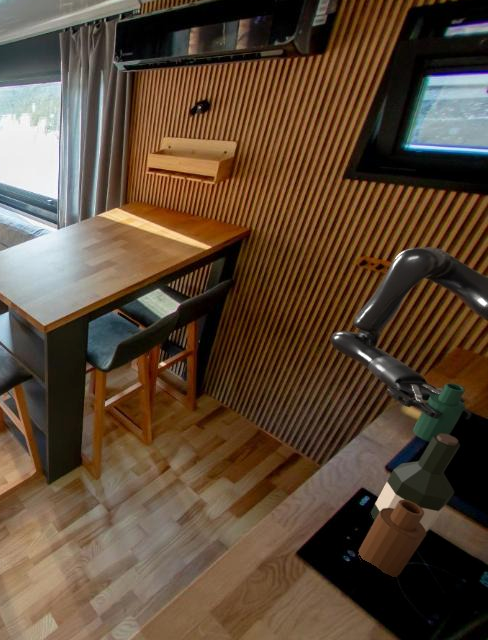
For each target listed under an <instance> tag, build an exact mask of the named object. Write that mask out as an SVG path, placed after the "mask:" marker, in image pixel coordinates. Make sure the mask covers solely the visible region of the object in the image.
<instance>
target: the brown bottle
mask: <svg viewBox="0 0 488 640" xmlns="http://www.w3.org/2000/svg"><path fill="white" fill-rule="evenodd" d="M423 516H424V511H423V509H422V508H421V507H420V506H418V505H417V504H415V503H413V502H411V501H409V500H399V502H398V503H397V505H396V507H395V509H393V508H383V509H382V510H381V511H380V512H379V514H378V516H377V518H376V519H375V521H373V523H372V525H371V527H370V528H369V530H368V532H367V534H366V536H365V537H364V539H363V541H362V543H361V545H360V547H359V549H358V552H359V554H358V556H359V555H360V556H361V558H362V559H363V560H365V561H367V562H369V563H371V564H372V565H374V566H376V567H377V568H378V569H380V570H381V571H382V572H383V573H385V574H388V575H390V576H392V577H396V578H398V577H399V576H400V575H401V573H402V571H403V570H404V569H405V568H406V565H408V563H409V561H410V559H411V558H412V557H413V555H414V553H416V551H417V549H418V548H419V546H420V545H421V543H422V541H423V540H424V539H425V537H426V536H427V534H426V531H425V528H424V527H423V526H422V524H421V523H420V520H421V519H422V517H423ZM398 575H399V576H398ZM397 576H398V577H397Z"/></svg>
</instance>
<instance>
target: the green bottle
mask: <svg viewBox="0 0 488 640" xmlns="http://www.w3.org/2000/svg"><path fill="white" fill-rule="evenodd" d="M443 387H444V388H443ZM443 387H442V388H443V390H442V392H441V394H432V395H431V396H430V397H429V399H428V401H427V400H426V403H427V404H429V405H430V406H431V407H433V408H434V409H435V410H437V411H438V412H439V413H440V415H439V417H438V418H437V419H433V418H431V417H430V416H428V415H426V414H425V413H424V412H422V411H421V413H420V415H419V417H418V418H417V420H416V422H415V424H414V427H413V428H412V432H413V434H414V435H415V436H416V437H418V438H420V439H421V440H423V441H425V442H428V443H430V441H431V439H432V438H433V436H435V435H436V434H440V433H443V434H448V435H450V434H451V433H452V431H453V430H454V428H455V426H456V424H457V423H458V421H459V419H460V418H461V417H460V416H461V414H462V412H463V410H464V409H466V404H465V402H464V403H462V402H461V401H460V398H461V397H462V398H463V395H464V393H465V392H466V389H465V388H464V387H463V386H462V385H459V384H456V383H451V382H447V383H445V384H444V386H443Z"/></svg>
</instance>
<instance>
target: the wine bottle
mask: <svg viewBox="0 0 488 640" xmlns="http://www.w3.org/2000/svg"><path fill="white" fill-rule="evenodd" d="M460 447H461V444H460V443H459V439H457V437H455V436H452V434H451V435H448V434H443V433H440V434H436V435H435V436H433V438H432V439H431V441H430V442H428V445H427V446H426V448H425V450H424V451H423V453H422V455H421V457H420V458H419V460H418V461H417V460H416V461H410V462H404V463H403V462H402V463H401V464H399V465H397V466H396V467H395V468H394V469H393V470H392V471H391V474H390V475H389V477H388V479H387V481H386V482H385V484H384V486H383V488H382V490H381V492H380V494H379V495H378V498H377V500H376V501H375V503H374V505H373V507H372V509H371V511H370V513H371V515H372V518H373V519H374V521H375V519H376V518H377V516H378V514H379V512H380V511H381V510H382V509H383V508H393V509H395V507H396V505H397V503H398V502H399V500H409V501H411V502H413V503H415V504H417V505H418V506H420V507H421V508H422V509H423V511H424V516H423V517H422V519H421V520H420V523H421V524H422V526H423V527H424V528H425V531H426V535H427V534H428V533H429V531H430V529H432V527H433V525H434V524H435V522H436V521H437V519H438V517H439V516H440V515H441V513H442V512H443V510H444V509H445V508H446V506H447V505H448V503H449V502H450V500H451V498H452V497H453V495H454V494H455V490H454V488H453V487H452V485H451V483H450V481H449V480H448V478H447V476H446V473H445V471H446V469H447V467H448V466H449V465H450V463H451V461H452V460H453V458H454V457H455V455H456V453H457V452H458V450H459V449H460ZM372 518H371V519H372ZM373 519H372V520H373ZM374 521H373V522H374Z"/></svg>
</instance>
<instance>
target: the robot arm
mask: <svg viewBox="0 0 488 640" xmlns="http://www.w3.org/2000/svg"><path fill="white" fill-rule="evenodd" d="M424 279H426V280H428V281H429V282H432V283H434V284H435V285H438V286H440V287H442V288H444V289H446V290H448V291H449V292H451V293H452V294H453V295H455V296H456V297H457V298H458V299H459V300H461V302H462V303H463V304H464V305H465V306H466V307H467V308H469V310H471V311H472V312H473V313H475V314H476V315H477V316H478V317H480V318H482V319H483V320H485V321H486V322H488V276H486V275H484V274H481V273H480V272H478V271H476V270H475V269H473V268H471V267H470V266H469V265H467V264H465V263H464V262H462V261H461V260H459V259H458V258H456V257H454V256H452V255H451V254H450V253H448V252H447V251H445V250H443V249H440V248H436V247H431V246H422V247H413V248H412V247H411V248H408V249H405V250H402V251H401V252H399V253H397V254H396V256H395V257H394V259H392V262H391V263H390V266H389V268H388V270H387V272H386V274H385V276H384V277H383V279H382V281H381V283H380V284H379V285H378V287H377V289H376V290H375V291H374V293H373V294H372V296H371V297H370V298H369V300H368V301H367V302H366V303H365V304H364V306H362V308H361V309H360V310H359V312H358V313H357V314H356V315H355V317H354V318H353V319H352V325H353V326H354V327H355V328H357V329H359V331H358V332H354V331H353V332H352V331H348V330H338V331H334V333H332V334H331V335H330V337H329V341H330V344H331V346H332V347H333V348H334V349H335V350H336V351H338V352H339V353H341V354H342V355H345V356H346V357H348V358H350V359H352V360H354V361H356V362H358V363H359V364H361V365H362V366H363V367H364V368H366V369H367V370H368V371H370V372H371V373H372V374H373V376H375V377H376V378H377V379H378V380H380V381H381V382H382V383H383V384H385V385H386V386H387V389H386V391H385V394H386V395H388V396H389V397H390V398H393V399H394V400H395V401H397V402H398V403H400V404H401V405H403V406H404V407H407V408H410V407H414V408H415V409H417V410H419V411H421V413H422V412H424V413H425V414H426V415H428V416H430V417H431V418H433V419H437V418H438V417H439V415H440V413H439V412H438V411H437V410H435V409H434V408H433V407H431V406H430V405H429V404H427V401H428V399H429V397H430V396H431V395H432V394H441V392H442V390H443V388H444V386H443V387H436V386H434V385H433V384H430V383H428V382H427V380H426V379H425V377H424V376H423V375H422V374H420V373H418V372H417V371H416V370H414V369H413V368H412V367H410V366H409V365H407V364H406V363H405V362H402V361H401V360H399V359H397V358H395V357H394V356H393V355H391V354H389V353H388V352H387V351H385V350H383V349H381V348H379V347H377V346H378V343H379V340H380V337H381V336H382V335H381V334H382V332H383V330H384V329H385V327H386V326H387V325H388V324H389V323H390V322H391V321H392V320H393V318H394V317H395V316H396V315H397V313H398V311H399V310H400V307H401V305H402V303H403V301H404V299H405V298H406V296H407V295H408V293H410V291H411V290H412V289H413V288H414V287H415V286H416V285H417V284H419V283H420V282H421V281H423V280H424ZM425 401H426V402H425ZM460 401H461V402H462V403H464V404H465V402H466V400H465V398H463V396H462V397H461V398H460ZM471 416H472V412H471V411H470V410H469V409H467V408H465V409H464V410H463V412H462V414H461V416H460V417H459V418H462V419H463V420H470V419H471Z"/></svg>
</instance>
